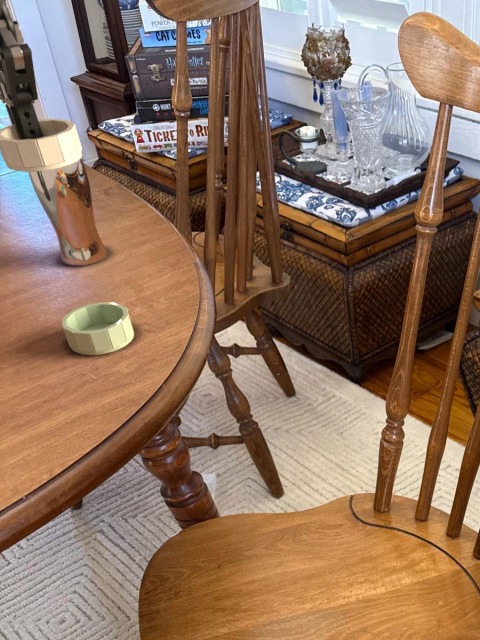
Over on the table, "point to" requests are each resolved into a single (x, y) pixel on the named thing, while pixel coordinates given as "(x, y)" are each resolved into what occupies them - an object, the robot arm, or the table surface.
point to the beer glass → (70, 212)
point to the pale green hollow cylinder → (98, 328)
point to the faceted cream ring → (41, 147)
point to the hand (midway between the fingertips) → (31, 143)
